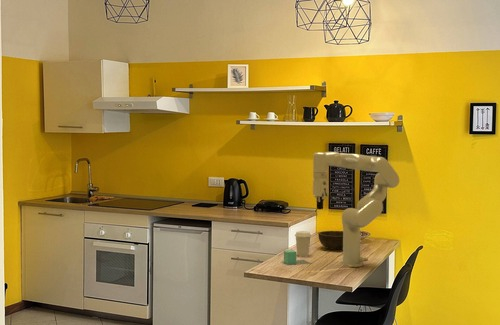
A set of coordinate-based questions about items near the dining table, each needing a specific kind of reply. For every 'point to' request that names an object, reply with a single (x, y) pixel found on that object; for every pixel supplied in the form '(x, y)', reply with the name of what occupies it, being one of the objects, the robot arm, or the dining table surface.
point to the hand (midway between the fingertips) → (319, 209)
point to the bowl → (331, 239)
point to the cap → (290, 257)
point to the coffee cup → (303, 243)
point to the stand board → (300, 262)
